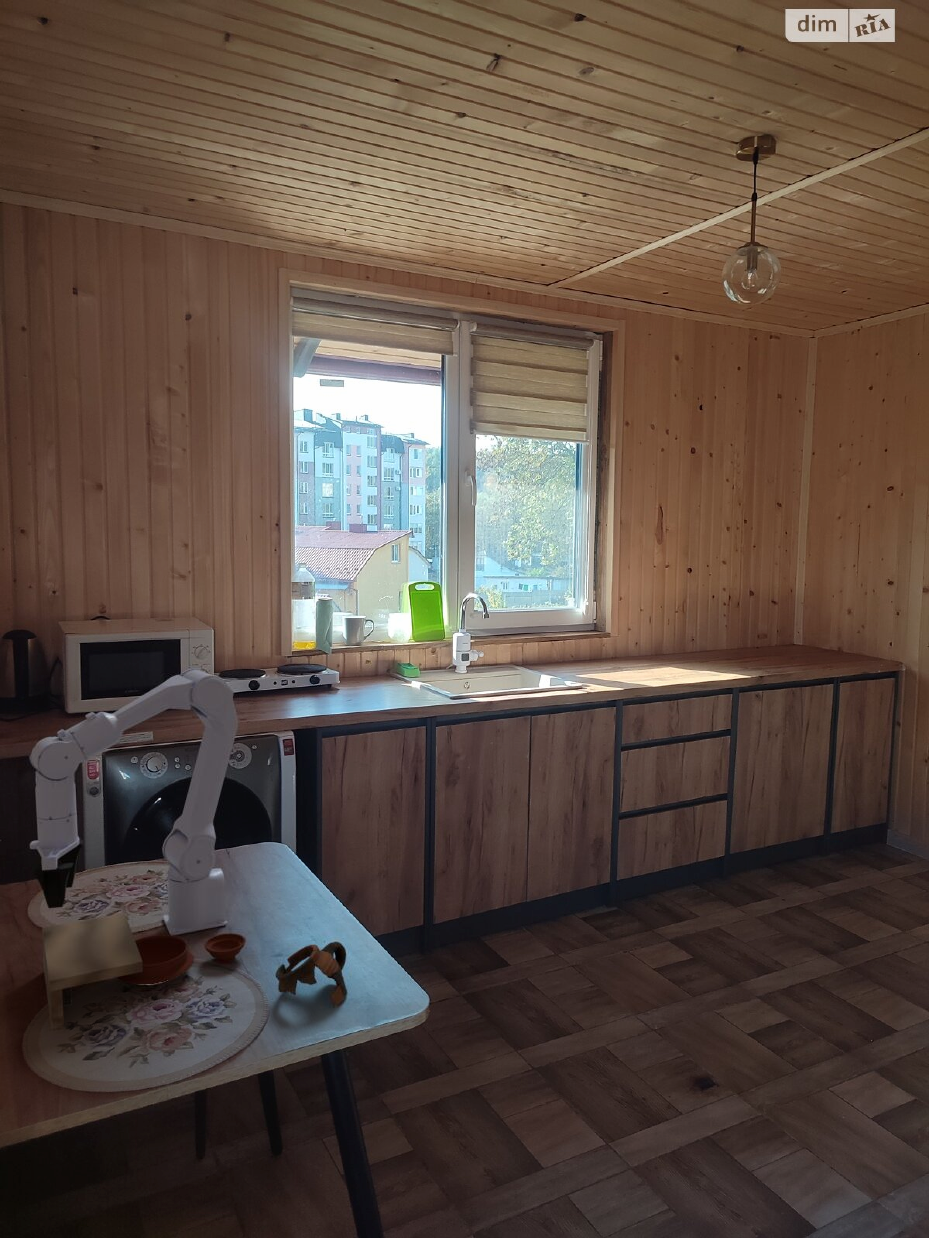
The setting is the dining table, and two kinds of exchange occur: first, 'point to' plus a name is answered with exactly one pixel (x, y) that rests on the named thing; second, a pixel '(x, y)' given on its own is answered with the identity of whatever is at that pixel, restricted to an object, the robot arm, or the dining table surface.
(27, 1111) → the dining table surface
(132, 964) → the low shelf
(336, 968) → the broken clay jug rim
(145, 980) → the pottery
